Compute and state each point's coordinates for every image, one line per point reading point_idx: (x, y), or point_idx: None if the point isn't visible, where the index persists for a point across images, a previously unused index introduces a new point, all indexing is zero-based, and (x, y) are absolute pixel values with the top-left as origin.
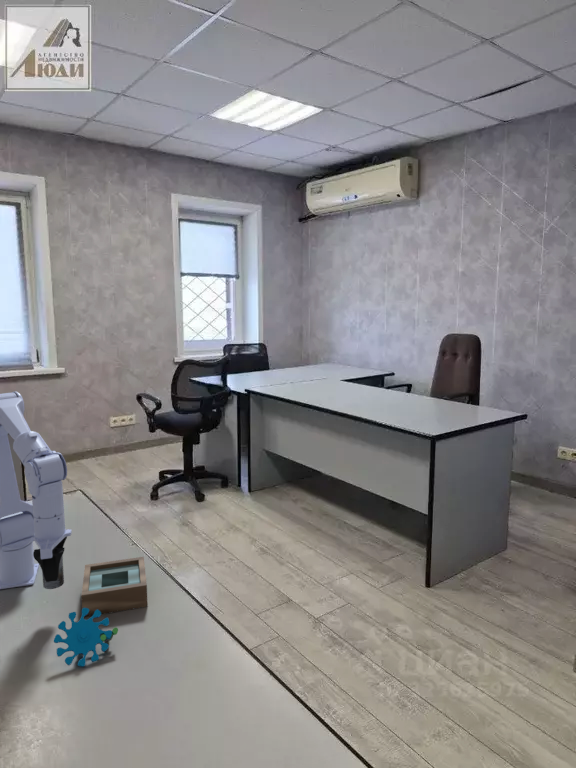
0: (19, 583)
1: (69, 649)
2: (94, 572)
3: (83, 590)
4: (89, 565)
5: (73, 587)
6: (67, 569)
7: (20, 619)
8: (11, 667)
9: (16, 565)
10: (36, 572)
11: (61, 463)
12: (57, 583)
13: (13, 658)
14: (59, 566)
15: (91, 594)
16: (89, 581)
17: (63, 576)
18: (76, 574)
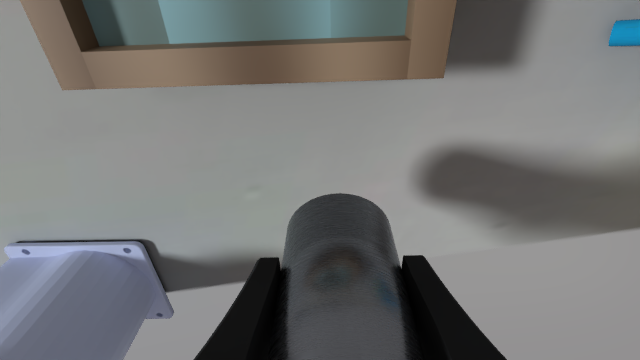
0: (145, 276)
1: None
2: (121, 17)
3: (388, 71)
4: (66, 60)
5: (156, 112)
6: (11, 151)
7: None
8: (575, 228)
9: (112, 340)
10: (67, 245)
11: None
12: (389, 232)
13: (535, 230)
14: (401, 312)
15: (453, 12)
16: (244, 42)
17: (351, 221)
18: (45, 111)
